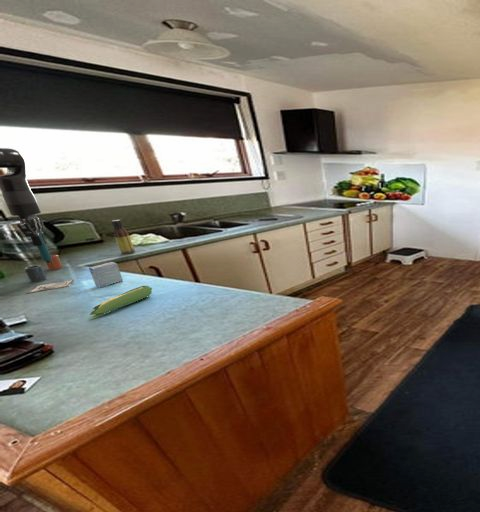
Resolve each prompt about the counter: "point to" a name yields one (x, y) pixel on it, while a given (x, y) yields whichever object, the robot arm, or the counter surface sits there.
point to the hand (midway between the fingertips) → (40, 244)
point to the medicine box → (105, 274)
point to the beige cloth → (51, 286)
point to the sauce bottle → (122, 238)
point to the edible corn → (121, 300)
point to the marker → (44, 251)
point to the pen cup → (54, 263)
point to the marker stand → (35, 273)
